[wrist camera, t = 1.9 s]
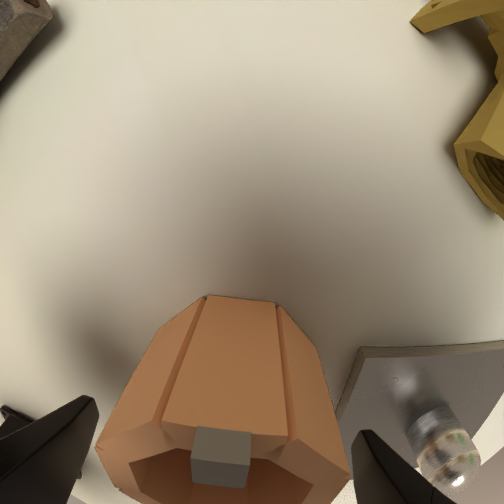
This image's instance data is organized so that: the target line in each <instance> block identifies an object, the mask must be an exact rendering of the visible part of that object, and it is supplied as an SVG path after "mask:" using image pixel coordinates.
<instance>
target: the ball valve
mask: <svg viewBox="0 0 504 504" xmlns="http://www.w3.org/2000/svg"><path fill="white" fill-rule="evenodd" d="M476 16H481V17H482V19H483V20H484V21H485V23H486V24H487V25H488V27H489V31H488V36H487V37H488V39H489V41H490V42H491V44H492V46H493V48H494V49H495V51H496V53H497V55H498V61H497V64H496V68H495V71H494V74H495V76H496V79H497V81H498V83H497V85H496V86H495V88H494V89H493V90H492V92H491V93H490V94H489V96H488V97H487V98H486V100H485V101H484V103H483V104H482V106H481V107H480V109H479V110H478V111H477V113H476V114H475V116H474V117H473V119H472V120H471V121H470V123H469V124H468V125H467V127H466V128H465V130H464V131H463V132H462V134H461V135H460V136H459V138H458V139H457V140H456V142H455V143H454V144H453V145H454V149H455V153H456V158H457V162H458V167H459V171H460V172H461V174H462V175H463V177H464V178H465V179H466V180H467V182H468V183H469V184H470V186H471V187H472V188H473V190H474V191H475V192H476V194H477V195H478V196H479V198H480V199H481V200H482V202H483V203H485V204H486V205H487V206H488V207H489V208H491V209H492V210H493V211H494V212H495V213H496V214H497V215H499V216H500V217H501V218H502V219H503V220H504V0H432V1H430V2H429V3H428V4H426V5H425V6H424V7H423V8H422V9H421V10H420V11H419V12H418V13H417V14H416V15H415V16H414V17H413V18H412V19H411V21H410V22H411V23H412V24H413V25H415V26H416V27H417V28H418V29H420V30H421V31H422V32H423V33H427V32H429V31H432V30H435V29H438V28H441V27H444V26H447V25H450V24H453V23H456V22H459V21H462V20H466V19H469V18H473V17H476Z"/></svg>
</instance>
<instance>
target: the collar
mask: <svg viewBox="0 0 504 504" xmlns="http://www.w3.org/2000/svg"><path fill="white" fill-rule="evenodd" d="M95 450H96V452H97V454H98V456H99V458H100V460H101V462H102V464H103V466H104V468H105V470H106V472H107V474H108V475H109V477H110V479H111V481H112V483H113V485H114V486H115V487H117V488H120V489H119V491H121V492H122V493H124V494H126V495H128V496H129V497H131V498H133V499H135V500H136V501H138V502H140V503H142V504H331V502H332V501H333V500H334V499H335V498H336V496H337V495H338V494H339V493H340V491H341V490H342V489H343V487H344V486H345V485H346V484H347V482H348V481H349V480H350V478H351V477H350V471H349V467H348V463H347V459H346V455H345V451H344V447H343V443H342V439H341V435H340V431H339V427H338V424H337V420H336V416H335V412H334V409H333V405H332V401H331V398H330V394H329V390H328V387H327V383H326V380H325V376H324V373H323V369H322V366H321V362H320V359H319V355H318V352H317V348H316V346H315V345H314V344H313V343H312V342H311V341H310V339H309V338H308V337H307V336H306V335H305V334H304V332H303V331H302V330H301V329H300V328H299V327H298V325H297V324H296V323H295V322H294V321H293V320H292V318H291V317H290V316H289V315H288V314H287V313H286V311H285V310H284V309H283V308H282V307H281V306H279V307H277V308H276V309H275V303H274V302H265V301H255V300H246V299H238V298H229V297H221V296H213V295H208V297H207V300H205V299H204V298H203V297H201V298H200V299H198V300H197V301H196V302H194V303H193V304H192V305H190V306H189V307H188V308H186V309H185V310H184V311H182V312H181V313H180V314H178V315H177V316H176V317H174V318H173V319H172V320H170V321H169V322H168V323H166V324H165V325H164V326H162V327H161V328H160V329H159V330H158V332H157V333H156V335H155V337H154V338H153V340H152V342H151V344H150V345H149V347H148V349H147V351H146V352H145V354H144V356H143V357H142V359H141V361H140V363H139V365H138V366H137V368H136V370H135V372H134V373H133V375H132V377H131V379H130V381H129V382H128V384H127V386H126V388H125V390H124V391H123V393H122V395H121V397H120V399H119V401H118V402H117V404H116V406H115V408H114V410H113V412H112V414H111V415H110V417H109V419H108V421H107V423H106V425H105V427H104V429H103V431H102V432H101V434H100V436H99V438H98V440H97V442H96V446H95Z"/></svg>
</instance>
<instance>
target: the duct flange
mask: <svg viewBox="0 0 504 504" xmlns="http://www.w3.org/2000/svg"><path fill="white" fill-rule="evenodd" d="M503 392H504V341H495V342H486V343H475V344H462V345H446V346H424V347H360V349H359V352H358V355H357V358H356V360H355V363H354V366H353V369H352V372H351V374H350V377H349V380H348V382H347V385H346V387H345V390H344V392H343V395H342V397H341V400H340V402H339V405H338V407H337V410H336V412H335V416H336V420H337V424H338V427H339V431H340V435H341V439H342V443H343V447H344V451H345V455H346V459H347V463H348V467H349V471H350V477H351V478H350V480H352V479H353V468H352V455H351V445H352V443H353V441H354V439H355V437H356V435H357V434H358V432H359V431H360V430H364V429H371V430H373V431H374V432H375V433H376V434H377V435H378V436H379V437H380V438H381V439H382V440H384V441H385V442H386V443H387V444H388V445H389V446H390V447H391V448H392V449H393V450H394V451H395V452H397V453H398V454H399V455H400V456H401V457H402V458H403V459H404V460H405V461H406V462H408V463H409V464H410V465H411V466H412V467H413V468H417V467H419V468H420V470H421V472H422V475H423V477H424V478H425V479H427V480H428V481H429V482H430V483H431V484H432V485H433V486H435V487H436V488H437V489H438V490H439V491H441V492H442V493H443V494H444V495H446V496H451V495H455V494H457V493H460V492H461V491H463V490H465V489H466V488H467V487H468V486H469V485H470V484H471V483H472V482H473V481H474V479H475V478H476V476H477V474H478V472H479V469H480V463H481V460H480V455H479V452H478V450H477V449H476V447H475V445H474V444H473V442H472V440H471V439H472V438H473V436H474V435H475V434H476V432H477V431H478V430H479V428H480V427H481V426H482V424H483V423H484V421H485V420H486V419H487V417H488V416H489V414H490V413H491V411H492V410H493V408H494V407H495V405H496V404H497V402H498V401H499V399H500V397H501V396H502V394H503Z"/></svg>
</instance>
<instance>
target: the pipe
mask: <svg viewBox="0 0 504 504" xmlns="http://www.w3.org/2000/svg"><path fill="white" fill-rule="evenodd" d="M52 18H53V14H52V12H51V9H50V6H49V4H48V3H47V1H46V0H0V82H1V81H2V79H3V78H4V76H5V75H6V74H7V72H8V71H9V70H10V68H11V67H12V65H13V64H14V63H15V61H16V60H17V59H18V58H19V56H20V55H21V54H22V53H23V51H24V50H25V49H26V48H27V46H28V45H29V44H30V43H31V42H32V40H33V39H34V38H35V37H36V36H37V35H38V34H39V33H40V31H41V30H42V29H43V28H44V27H45V26H46V25H47V24H48V22H49V21H50V20H51V19H52Z"/></svg>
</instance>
